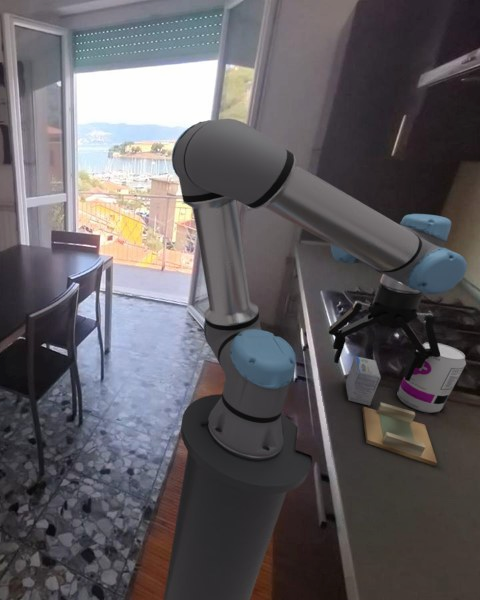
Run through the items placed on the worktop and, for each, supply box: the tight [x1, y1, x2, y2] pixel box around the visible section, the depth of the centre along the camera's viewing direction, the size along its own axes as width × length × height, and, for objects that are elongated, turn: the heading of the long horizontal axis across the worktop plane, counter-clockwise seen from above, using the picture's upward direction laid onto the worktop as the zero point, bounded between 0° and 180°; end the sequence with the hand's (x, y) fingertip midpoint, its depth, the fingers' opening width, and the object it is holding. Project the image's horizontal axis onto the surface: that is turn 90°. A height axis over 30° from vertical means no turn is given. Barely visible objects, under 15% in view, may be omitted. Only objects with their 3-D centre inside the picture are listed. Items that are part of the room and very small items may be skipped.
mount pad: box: [361, 402, 438, 467], centre depth 76 cm, size 11×12×4 cm
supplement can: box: [396, 342, 467, 414], centre depth 83 cm, size 8×8×15 cm
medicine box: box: [345, 356, 382, 407], centre depth 87 cm, size 8×4×9 cm, turn 150°
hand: (369, 368), depth 86 cm, fingers open, 13 cm apart
